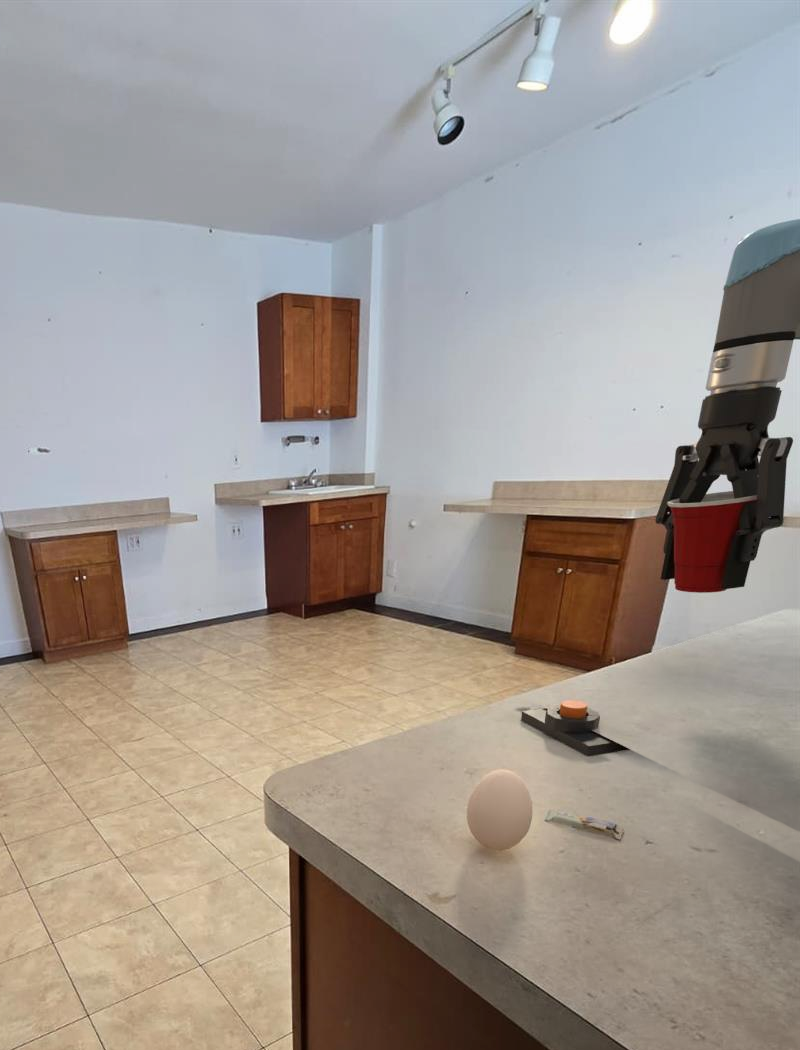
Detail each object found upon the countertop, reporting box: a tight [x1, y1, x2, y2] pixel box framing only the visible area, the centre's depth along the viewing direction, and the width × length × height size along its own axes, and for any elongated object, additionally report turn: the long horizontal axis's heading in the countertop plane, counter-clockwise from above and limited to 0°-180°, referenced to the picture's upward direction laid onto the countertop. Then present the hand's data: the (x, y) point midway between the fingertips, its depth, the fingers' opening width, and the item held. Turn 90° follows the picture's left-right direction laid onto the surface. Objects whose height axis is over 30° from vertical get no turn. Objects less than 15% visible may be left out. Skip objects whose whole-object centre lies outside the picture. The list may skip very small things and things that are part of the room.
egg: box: [466, 768, 534, 852], centre depth 58 cm, size 6×6×8 cm
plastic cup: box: [667, 490, 757, 594], centre depth 83 cm, size 11×11×12 cm
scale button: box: [559, 700, 589, 718], centre depth 80 cm, size 3×3×2 cm
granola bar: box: [544, 809, 625, 840], centre depth 62 cm, size 7×2×1 cm, turn 50°
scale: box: [520, 705, 632, 757], centre depth 82 cm, size 18×13×3 cm
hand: (700, 582), depth 85 cm, fingers closed on plastic cup, 9 cm apart
